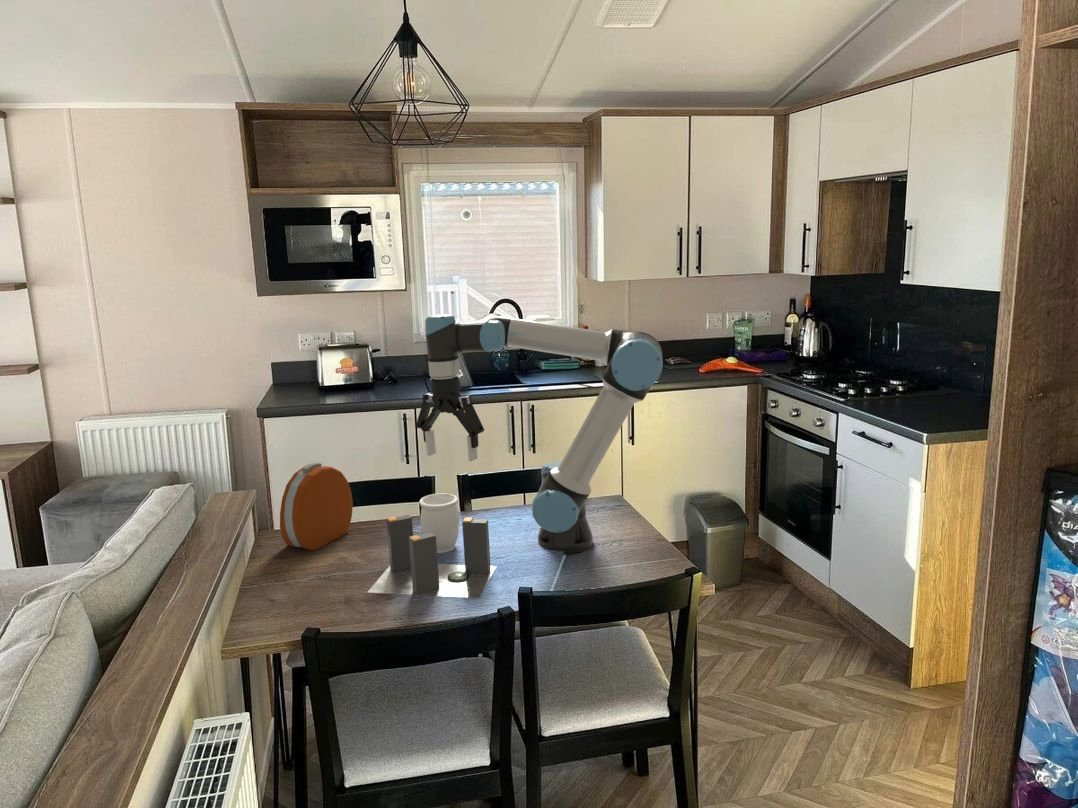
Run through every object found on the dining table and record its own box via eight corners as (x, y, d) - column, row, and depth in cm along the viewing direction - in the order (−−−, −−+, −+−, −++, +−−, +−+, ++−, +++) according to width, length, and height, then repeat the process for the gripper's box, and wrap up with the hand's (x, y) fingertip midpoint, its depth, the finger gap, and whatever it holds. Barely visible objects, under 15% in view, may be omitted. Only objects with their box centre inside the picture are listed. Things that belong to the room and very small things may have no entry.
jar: (454, 559, 218) (451, 506, 215) (417, 557, 220) (413, 505, 217) (465, 544, 228) (462, 493, 225) (430, 542, 230) (426, 492, 227)
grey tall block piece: (490, 569, 208) (487, 518, 205) (488, 573, 206) (485, 521, 203) (467, 568, 209) (464, 517, 206) (465, 572, 207) (462, 520, 204)
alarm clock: (330, 523, 248) (323, 451, 243) (355, 528, 243) (349, 455, 238) (276, 550, 229) (267, 473, 224) (303, 556, 224) (295, 477, 219)
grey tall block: (412, 563, 213) (408, 513, 210) (415, 566, 211) (411, 516, 208) (390, 568, 211) (386, 517, 208) (393, 571, 209) (388, 520, 206)
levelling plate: (496, 570, 210) (496, 563, 210) (479, 602, 193) (478, 594, 193) (393, 566, 215) (392, 558, 215) (367, 596, 198) (366, 589, 198)
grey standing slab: (435, 584, 201) (431, 531, 198) (439, 587, 199) (435, 534, 196) (412, 590, 198) (408, 537, 195) (417, 594, 196) (412, 540, 193)
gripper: (493, 375, 202) (500, 457, 207) (416, 371, 216) (424, 448, 220) (475, 381, 196) (482, 466, 201) (397, 376, 209) (405, 456, 214)
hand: (452, 457), depth 211 cm, fingers open, 13 cm apart
